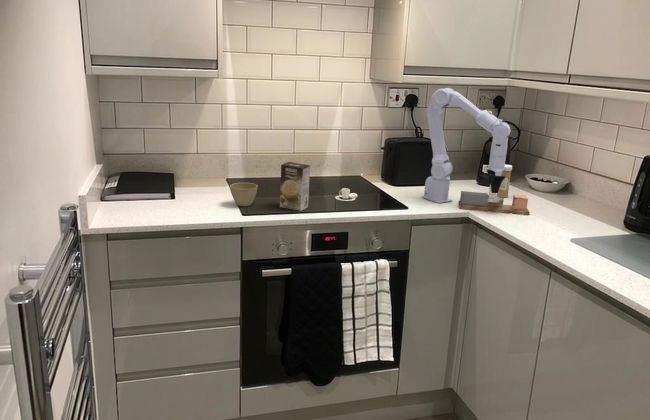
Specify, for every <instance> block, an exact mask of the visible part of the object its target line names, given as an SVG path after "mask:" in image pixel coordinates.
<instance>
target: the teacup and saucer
mask: <svg viewBox="0 0 650 420" xmlns="http://www.w3.org/2000/svg"><path fill="white" fill-rule="evenodd" d="M338 194H339V195H336V196H335V197H334V198H335V199H336V200H338V201H341V202H342V201H344V202H345V201H346V202H350V201H351V202H352V201H355V200H356V198H358V194H357V193H356V192H355V193H354V192H353V193H351V191H350V188H346V187H344V188H341V189H340V190H339V191H338ZM340 197H341V198H342V199H341V198H340Z"/></svg>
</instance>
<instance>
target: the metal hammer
mask: <svg viewBox="0 0 650 420" xmlns="http://www.w3.org/2000/svg"><path fill="white" fill-rule="evenodd" d="M488 196H489V197H488V204H495V205H503V204H504V199H505V198H503V197H498V196H497V193H492V192H491V184H490V188H489V191H488Z"/></svg>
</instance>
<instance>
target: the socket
mask: <svg viewBox="0 0 650 420" xmlns="http://www.w3.org/2000/svg"><path fill="white" fill-rule="evenodd" d="M528 203H529V198H528V196H527V195H525V194H515V193H514V194H513V197H512V203H511V205H512V207H513V209H514V210H521V211H526V209H528Z"/></svg>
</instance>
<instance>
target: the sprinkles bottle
mask: <svg viewBox="0 0 650 420" xmlns="http://www.w3.org/2000/svg"><path fill="white" fill-rule="evenodd" d="M505 167H507V168H508V170H504V171H502V173H501V176H505V179H504V180H503V181H502V183H501V185H500V188H499V191H498V193H496V197H499V198H504V199H505V198H508V197H509V190H510V183H511V175H512V174H511V173H512V170H513V165H511V164H505Z"/></svg>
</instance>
